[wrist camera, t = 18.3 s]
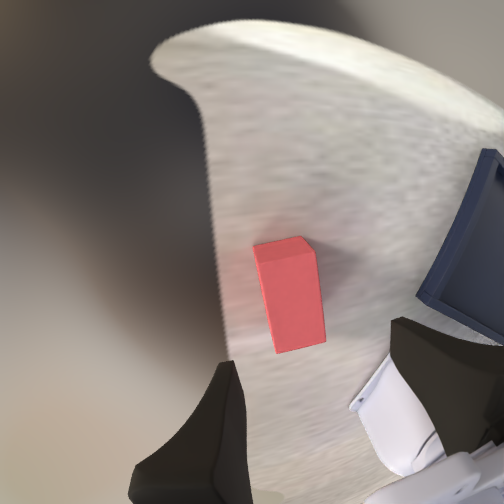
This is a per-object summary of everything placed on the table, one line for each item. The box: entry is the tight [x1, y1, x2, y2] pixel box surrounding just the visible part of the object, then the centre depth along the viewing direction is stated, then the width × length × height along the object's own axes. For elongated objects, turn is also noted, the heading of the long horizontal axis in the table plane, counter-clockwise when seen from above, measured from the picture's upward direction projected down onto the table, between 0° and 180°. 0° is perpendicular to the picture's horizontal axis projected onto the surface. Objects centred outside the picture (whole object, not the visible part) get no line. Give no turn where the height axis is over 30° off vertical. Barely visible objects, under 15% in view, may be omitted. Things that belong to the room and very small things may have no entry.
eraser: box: [253, 236, 326, 354], centre depth 19 cm, size 6×3×4 cm, turn 12°
